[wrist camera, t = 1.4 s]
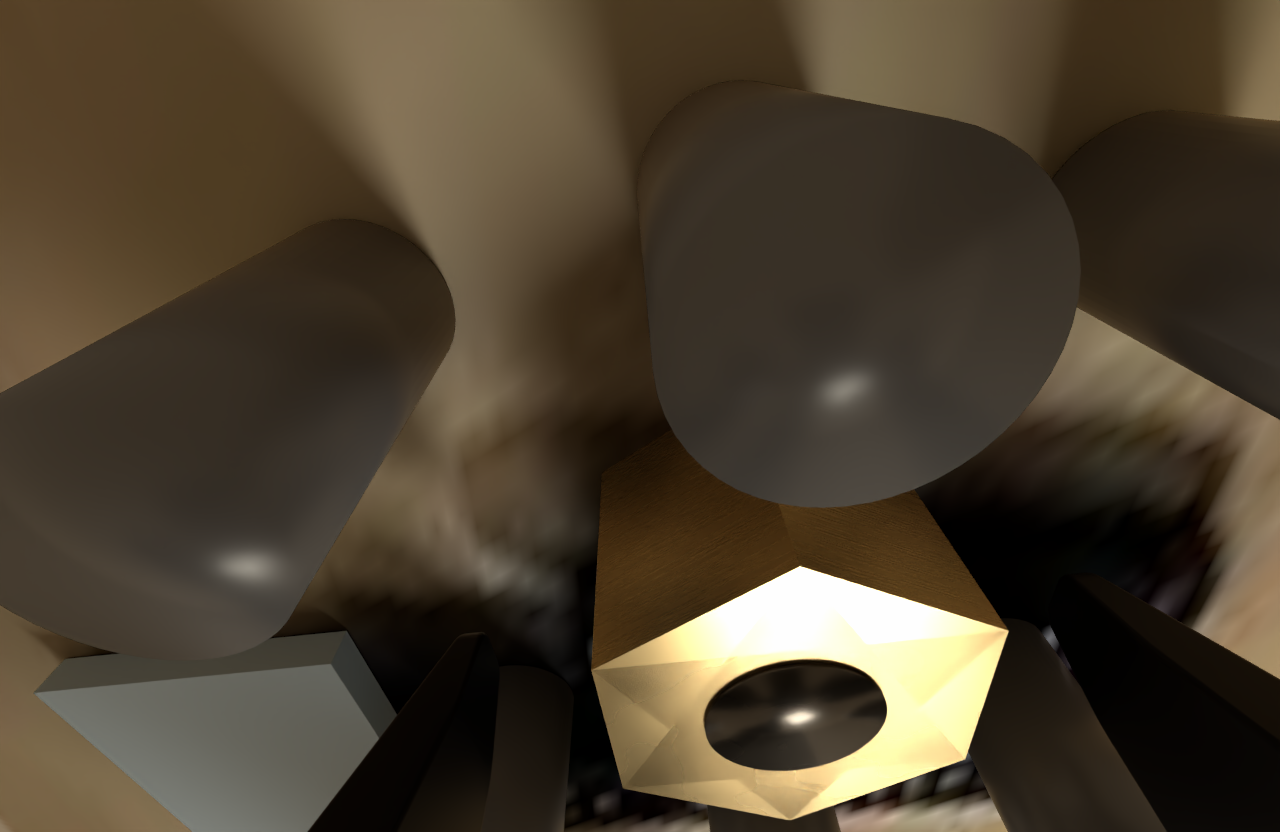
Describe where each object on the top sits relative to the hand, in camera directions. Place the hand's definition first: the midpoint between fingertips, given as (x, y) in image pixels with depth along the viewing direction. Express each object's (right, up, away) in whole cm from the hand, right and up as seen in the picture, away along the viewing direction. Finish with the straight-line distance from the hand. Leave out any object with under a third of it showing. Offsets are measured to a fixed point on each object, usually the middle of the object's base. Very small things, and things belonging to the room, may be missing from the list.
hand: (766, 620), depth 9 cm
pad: (-11, -5, +6) cm, 13 cm away
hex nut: (0, +1, +2) cm, 2 cm away
